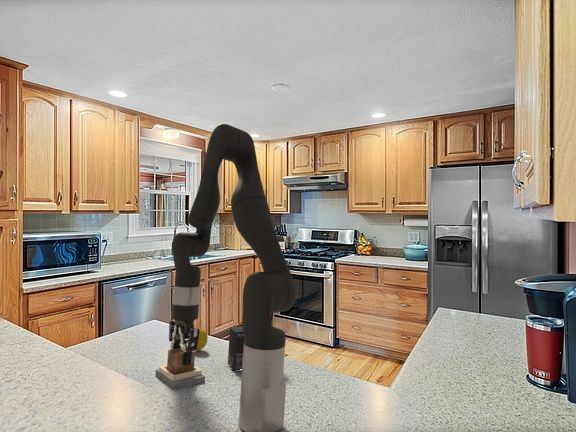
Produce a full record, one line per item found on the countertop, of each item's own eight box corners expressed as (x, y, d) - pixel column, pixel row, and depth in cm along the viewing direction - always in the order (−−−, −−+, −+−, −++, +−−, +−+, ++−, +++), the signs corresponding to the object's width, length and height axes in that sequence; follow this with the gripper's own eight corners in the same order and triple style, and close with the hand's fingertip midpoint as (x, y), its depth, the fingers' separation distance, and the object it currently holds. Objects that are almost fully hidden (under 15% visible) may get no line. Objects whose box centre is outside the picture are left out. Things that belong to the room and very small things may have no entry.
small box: (264, 360, 119) (267, 324, 120) (272, 368, 112) (275, 329, 113) (226, 364, 113) (229, 326, 114) (232, 372, 107) (235, 331, 108)
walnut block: (193, 373, 100) (195, 351, 100) (175, 377, 96) (176, 354, 96) (184, 367, 104) (186, 347, 104) (166, 371, 100) (168, 350, 101)
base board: (204, 381, 98) (205, 371, 99) (174, 389, 92) (175, 378, 92) (184, 368, 107) (185, 359, 107) (155, 374, 101) (156, 365, 101)
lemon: (202, 354, 122) (204, 330, 122) (187, 352, 123) (189, 328, 123) (209, 349, 127) (210, 327, 127) (194, 347, 128) (196, 325, 129)
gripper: (210, 305, 99) (205, 366, 97) (186, 297, 109) (181, 352, 108) (185, 307, 93) (180, 372, 92) (162, 298, 104) (157, 357, 103)
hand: (181, 361), depth 100 cm, fingers open, 6 cm apart
